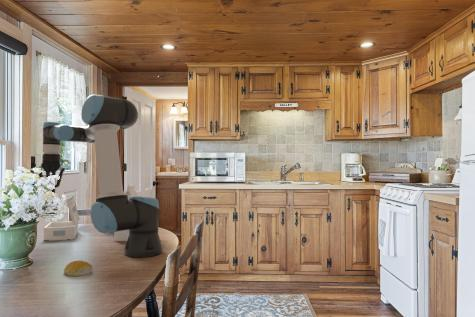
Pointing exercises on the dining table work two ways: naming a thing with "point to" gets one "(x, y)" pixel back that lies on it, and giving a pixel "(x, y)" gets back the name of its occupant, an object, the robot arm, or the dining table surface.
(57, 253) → the dining table surface
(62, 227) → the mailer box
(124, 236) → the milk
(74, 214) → the lid
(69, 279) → the dining table surface
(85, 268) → the bread roll
